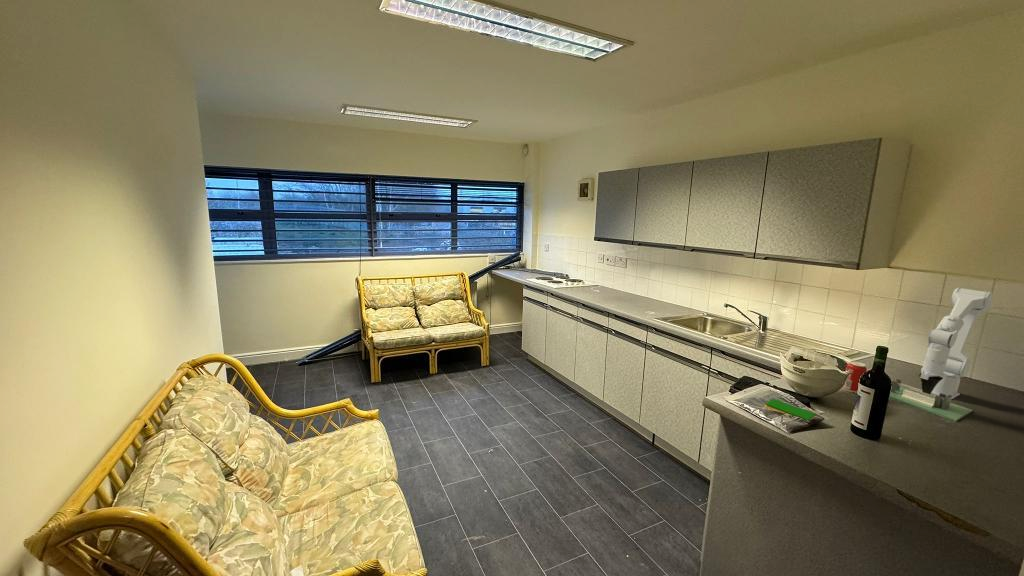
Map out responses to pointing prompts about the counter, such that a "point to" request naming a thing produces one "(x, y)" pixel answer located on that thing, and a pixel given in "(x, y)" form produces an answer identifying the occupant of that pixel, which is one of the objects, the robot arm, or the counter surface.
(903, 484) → the counter surface
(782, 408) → the dish sponge
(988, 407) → the counter surface
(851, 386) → the beverage can
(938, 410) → the heatsink board
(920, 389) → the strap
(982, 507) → the counter surface
